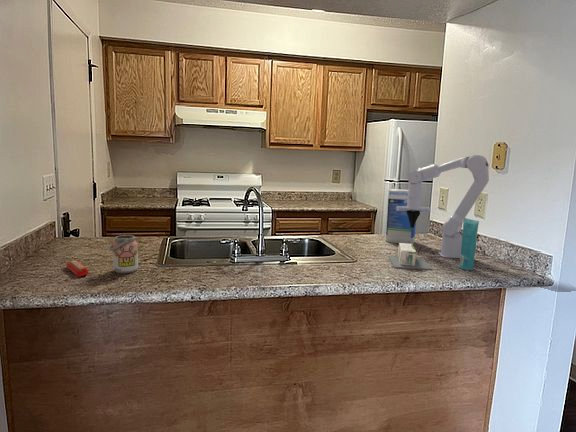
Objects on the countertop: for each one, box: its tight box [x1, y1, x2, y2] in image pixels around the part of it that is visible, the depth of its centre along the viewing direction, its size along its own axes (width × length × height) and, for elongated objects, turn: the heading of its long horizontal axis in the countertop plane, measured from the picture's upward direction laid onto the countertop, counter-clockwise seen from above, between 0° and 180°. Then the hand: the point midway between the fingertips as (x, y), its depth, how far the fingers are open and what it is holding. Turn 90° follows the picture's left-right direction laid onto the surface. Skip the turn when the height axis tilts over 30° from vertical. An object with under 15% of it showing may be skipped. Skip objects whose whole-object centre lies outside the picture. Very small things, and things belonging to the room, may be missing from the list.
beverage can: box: [108, 234, 139, 274], centre depth 140 cm, size 9×8×12 cm
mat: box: [388, 255, 433, 271], centre depth 161 cm, size 14×16×1 cm
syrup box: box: [397, 243, 417, 266], centre depth 162 cm, size 6×6×14 cm
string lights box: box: [385, 188, 417, 245], centre depth 198 cm, size 13×8×26 cm, turn 66°
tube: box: [459, 217, 480, 271], centre depth 154 cm, size 7×5×19 cm, turn 26°
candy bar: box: [66, 259, 90, 278], centre depth 139 cm, size 16×4×3 cm, turn 42°
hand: (412, 227), depth 182 cm, fingers closed
